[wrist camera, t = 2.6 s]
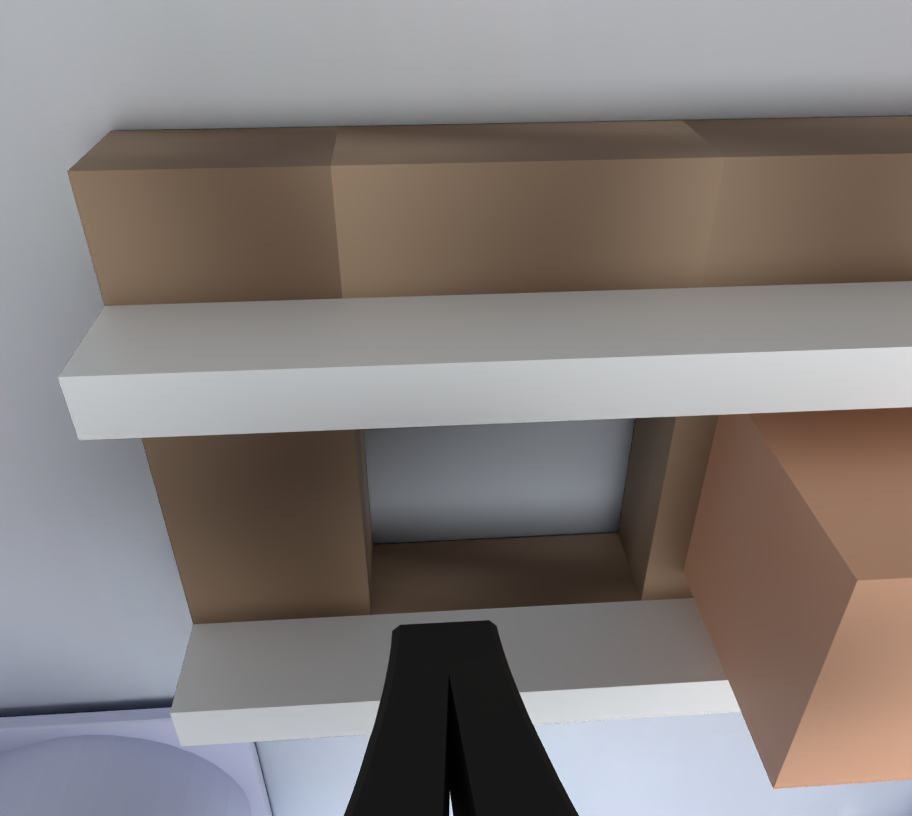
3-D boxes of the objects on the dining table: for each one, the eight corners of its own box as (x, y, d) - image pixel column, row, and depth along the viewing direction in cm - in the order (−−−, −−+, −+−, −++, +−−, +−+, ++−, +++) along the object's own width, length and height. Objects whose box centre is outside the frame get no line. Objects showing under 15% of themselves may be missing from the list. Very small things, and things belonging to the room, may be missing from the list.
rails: (202, 657, 16) (181, 746, 15) (104, 306, 12) (57, 377, 10) (1042, 610, 17) (1110, 688, 16) (1249, 270, 13) (1377, 330, 11)
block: (683, 573, 16) (772, 788, 12) (726, 381, 13) (857, 580, 10) (901, 561, 16) (1055, 769, 12) (984, 371, 13) (1210, 562, 10)
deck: (234, 643, 19) (218, 716, 17) (110, 131, 12) (67, 171, 11) (1216, 589, 20) (1289, 652, 19) (1592, 103, 14) (1758, 134, 12)
